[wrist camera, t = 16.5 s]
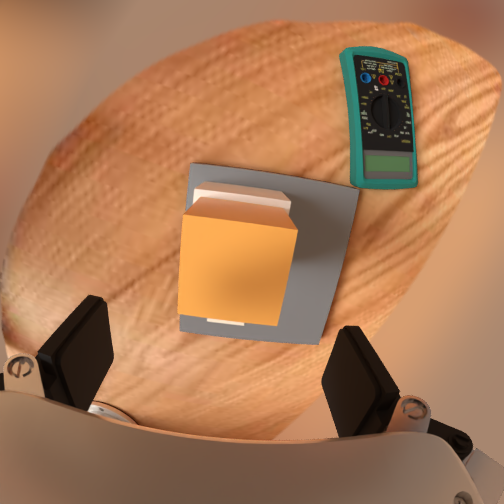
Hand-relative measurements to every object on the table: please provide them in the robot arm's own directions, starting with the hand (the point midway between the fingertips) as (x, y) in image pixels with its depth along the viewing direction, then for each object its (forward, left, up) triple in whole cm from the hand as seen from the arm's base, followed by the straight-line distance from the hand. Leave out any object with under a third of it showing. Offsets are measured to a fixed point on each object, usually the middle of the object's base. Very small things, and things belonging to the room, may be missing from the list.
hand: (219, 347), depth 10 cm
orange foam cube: (+1, 0, -12) cm, 12 cm away
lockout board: (-3, -3, -19) cm, 19 cm away
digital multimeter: (+13, -13, -19) cm, 27 cm away
